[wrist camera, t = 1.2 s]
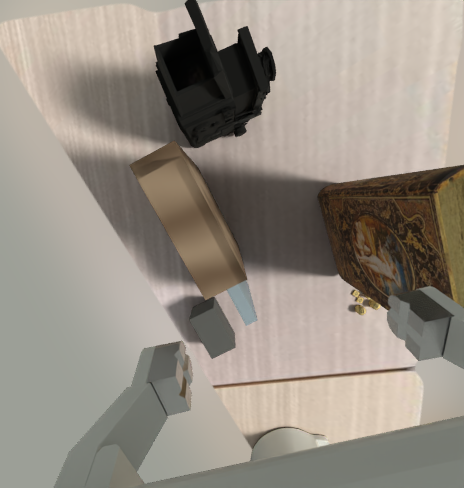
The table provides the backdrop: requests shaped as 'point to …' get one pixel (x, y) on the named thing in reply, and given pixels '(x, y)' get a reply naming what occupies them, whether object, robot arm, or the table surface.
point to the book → (399, 232)
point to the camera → (213, 81)
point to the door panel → (243, 302)
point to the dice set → (361, 309)
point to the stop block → (212, 327)
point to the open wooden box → (191, 218)
